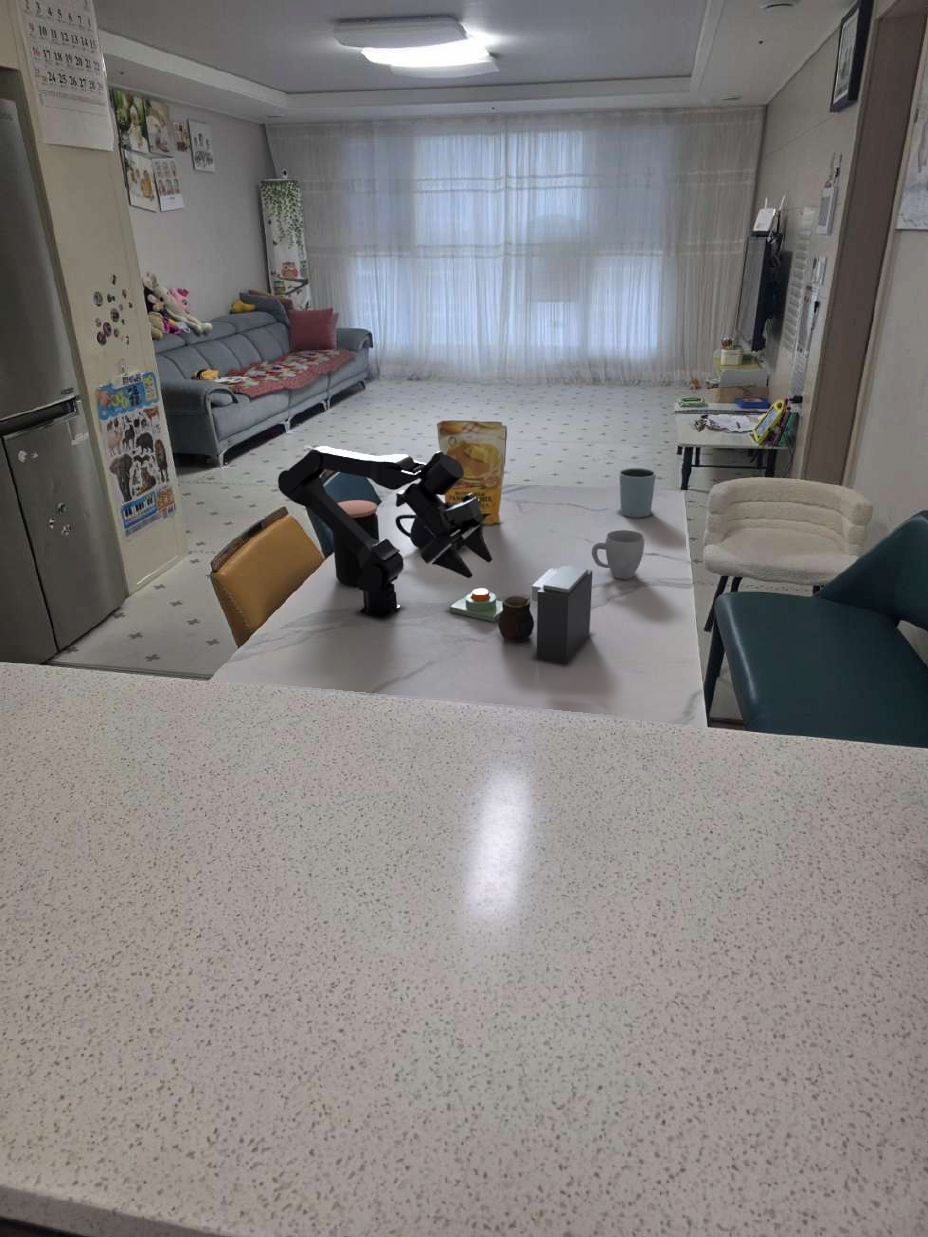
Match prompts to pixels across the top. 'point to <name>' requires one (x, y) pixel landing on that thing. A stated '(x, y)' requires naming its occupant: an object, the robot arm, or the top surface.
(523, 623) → the mate gourd
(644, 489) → the blue cup
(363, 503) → the coffee jar
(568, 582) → the lidded grey bin
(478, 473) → the pancake mix bag
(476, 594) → the eject button
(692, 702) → the top surface
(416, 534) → the teapot
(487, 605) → the pad
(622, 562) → the mug
